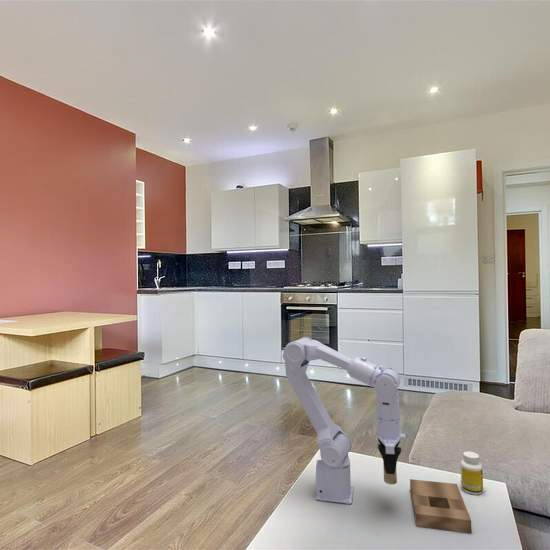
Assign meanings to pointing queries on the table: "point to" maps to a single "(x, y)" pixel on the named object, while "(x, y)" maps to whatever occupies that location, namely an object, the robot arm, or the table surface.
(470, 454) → the supplement bottle
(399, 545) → the table surface
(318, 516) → the table surface
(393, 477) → the beech peg
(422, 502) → the walnut socket board
